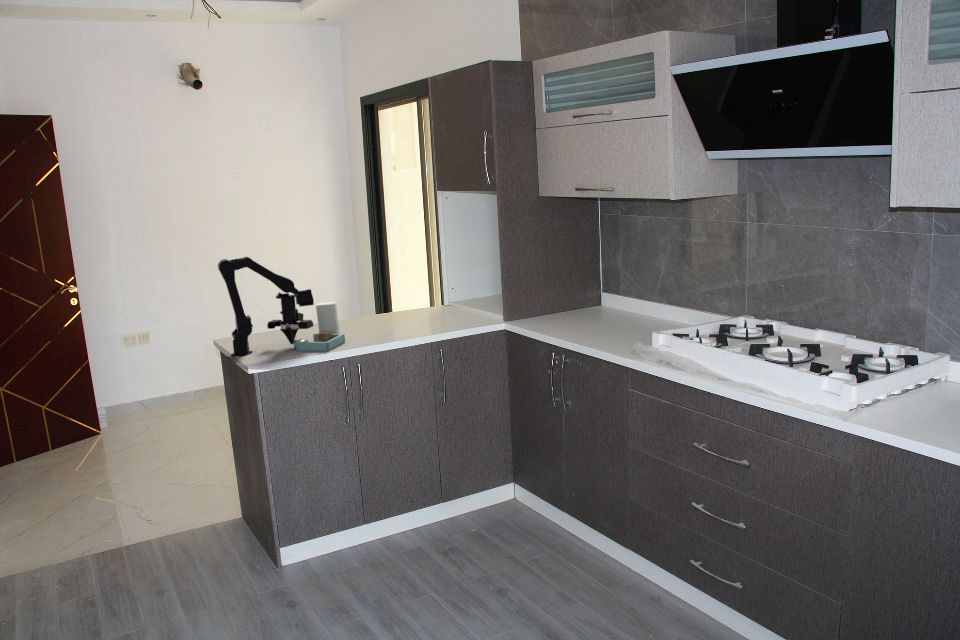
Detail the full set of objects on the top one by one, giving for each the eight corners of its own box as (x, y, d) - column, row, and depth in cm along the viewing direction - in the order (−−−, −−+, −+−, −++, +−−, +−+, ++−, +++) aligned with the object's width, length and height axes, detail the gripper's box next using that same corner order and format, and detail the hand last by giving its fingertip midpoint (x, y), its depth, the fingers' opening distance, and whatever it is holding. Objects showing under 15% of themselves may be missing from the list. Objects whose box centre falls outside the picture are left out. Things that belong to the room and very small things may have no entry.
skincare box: (340, 335, 356) (337, 301, 353) (338, 338, 349) (335, 303, 346) (321, 336, 355) (318, 302, 352) (318, 339, 349) (315, 304, 346)
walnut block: (331, 343, 341) (330, 331, 340) (327, 345, 338) (326, 333, 337) (323, 343, 342) (322, 331, 341) (318, 345, 339) (317, 333, 338)
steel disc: (304, 349, 332) (303, 342, 331) (291, 349, 334) (290, 342, 333) (310, 345, 338) (310, 339, 337) (298, 345, 339) (297, 338, 339)
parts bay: (327, 351, 326) (326, 342, 326) (296, 350, 330) (295, 342, 330) (345, 342, 342) (344, 334, 341) (315, 341, 346) (314, 333, 345)
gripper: (317, 304, 338) (320, 340, 342) (278, 304, 344) (282, 339, 347) (305, 309, 328) (308, 346, 331) (264, 309, 333) (268, 345, 336)
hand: (292, 344), depth 337 cm, fingers closed
